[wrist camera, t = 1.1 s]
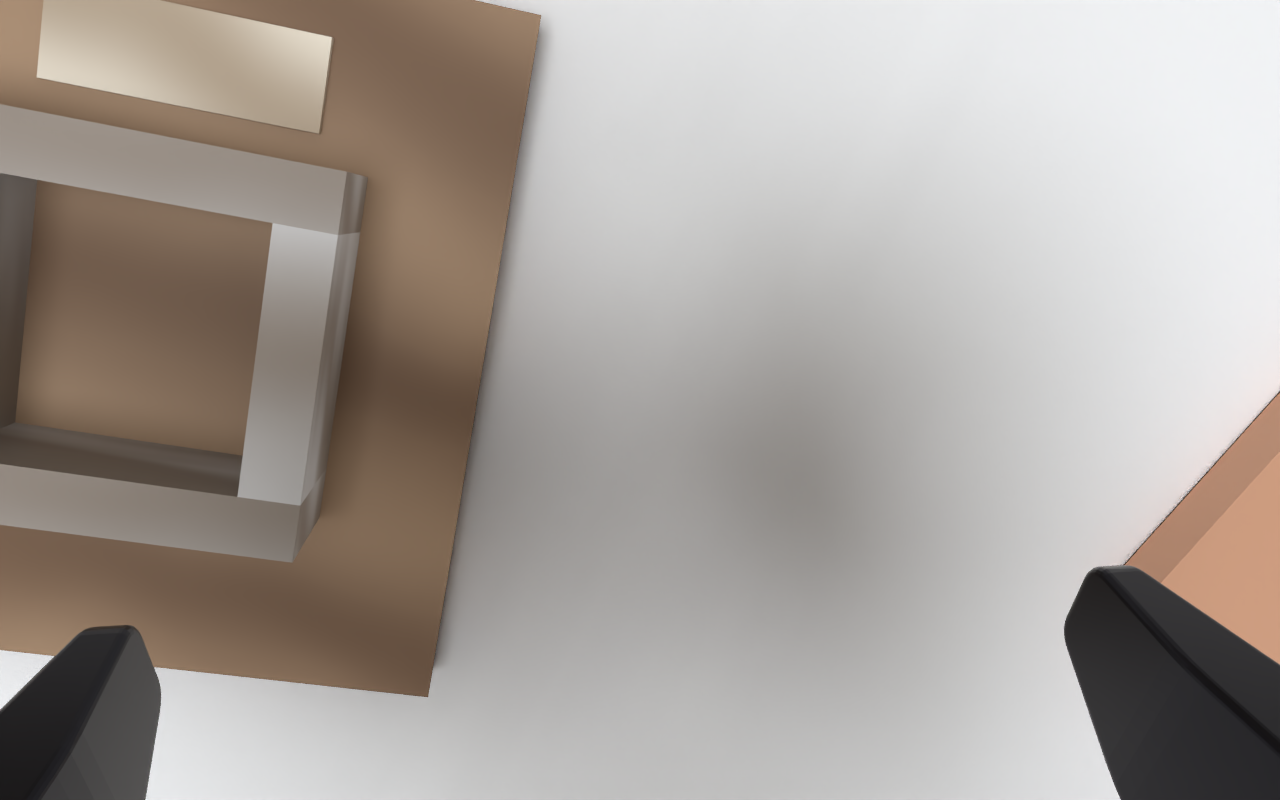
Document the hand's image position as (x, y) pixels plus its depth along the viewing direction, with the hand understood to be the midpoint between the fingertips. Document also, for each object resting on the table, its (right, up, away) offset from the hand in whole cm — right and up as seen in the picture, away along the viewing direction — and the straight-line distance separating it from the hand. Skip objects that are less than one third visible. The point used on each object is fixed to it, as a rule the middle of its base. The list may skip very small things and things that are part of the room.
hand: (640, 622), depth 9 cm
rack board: (-11, +4, +14) cm, 18 cm away
